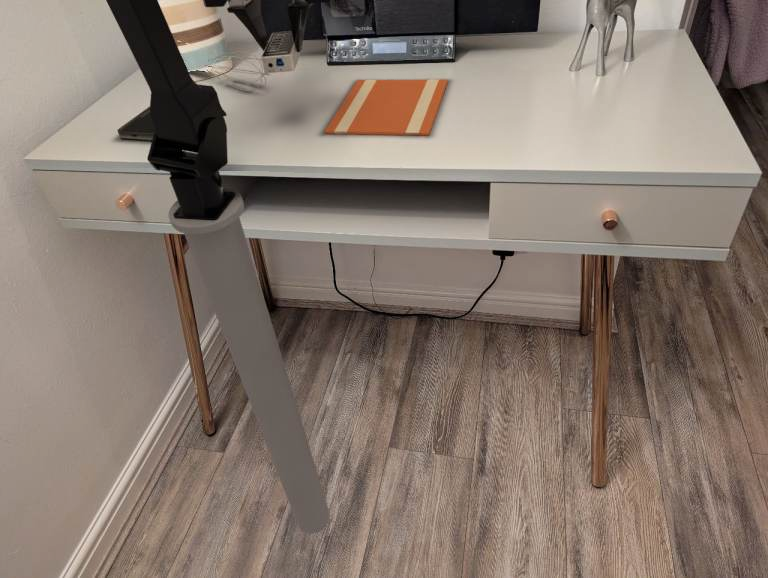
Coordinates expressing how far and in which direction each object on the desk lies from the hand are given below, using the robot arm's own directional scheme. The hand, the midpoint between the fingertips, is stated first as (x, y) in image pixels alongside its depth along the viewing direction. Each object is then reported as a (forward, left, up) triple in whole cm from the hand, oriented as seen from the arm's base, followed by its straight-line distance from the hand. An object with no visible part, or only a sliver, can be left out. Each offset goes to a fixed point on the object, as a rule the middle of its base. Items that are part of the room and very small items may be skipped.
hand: (283, 51), depth 86 cm
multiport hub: (0, 0, -1) cm, 1 cm away
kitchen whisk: (+17, +24, -11) cm, 31 cm away
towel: (+5, -14, -11) cm, 19 cm away
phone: (-1, +24, -11) cm, 26 cm away
